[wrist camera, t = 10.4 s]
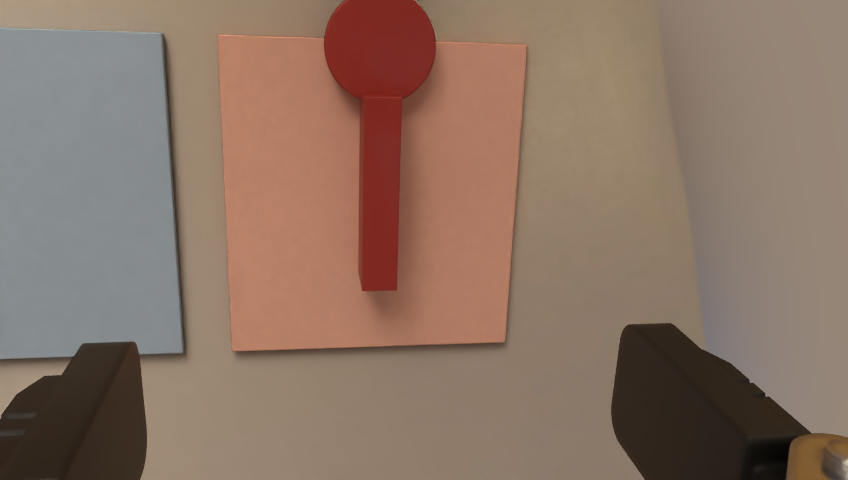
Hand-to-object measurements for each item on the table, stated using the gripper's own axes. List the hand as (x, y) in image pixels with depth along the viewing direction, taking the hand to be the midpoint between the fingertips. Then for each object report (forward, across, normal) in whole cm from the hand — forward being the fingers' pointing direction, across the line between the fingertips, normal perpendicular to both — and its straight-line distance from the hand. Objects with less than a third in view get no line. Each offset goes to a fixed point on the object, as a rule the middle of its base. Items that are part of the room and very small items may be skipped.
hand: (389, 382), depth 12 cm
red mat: (+19, -1, +2) cm, 19 cm away
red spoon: (+18, -2, -1) cm, 18 cm away
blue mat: (+19, +13, +2) cm, 23 cm away
